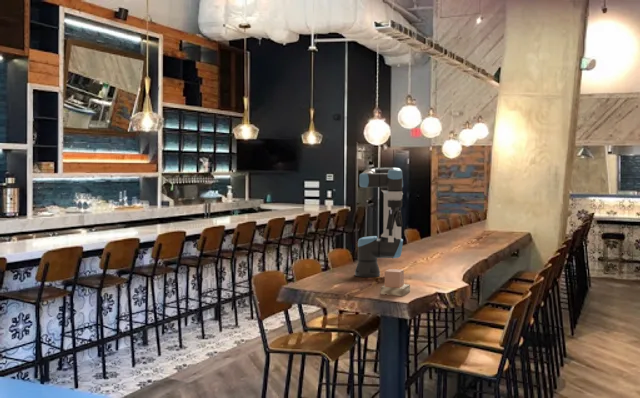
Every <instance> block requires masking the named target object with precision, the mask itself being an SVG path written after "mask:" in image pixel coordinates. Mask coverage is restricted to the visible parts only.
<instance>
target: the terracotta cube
mask: <svg viewBox="0 0 640 398" xmlns="http://www.w3.org/2000/svg"><path fill="white" fill-rule="evenodd" d="M404 284H405V269H396V268H395V269H394V268H388V269H387V270H384V285H385V287H395V288H400V287H402V286H403V285H404Z"/></svg>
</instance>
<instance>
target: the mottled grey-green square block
mask: <svg viewBox="0 0 640 398" xmlns="http://www.w3.org/2000/svg"><path fill="white" fill-rule="evenodd" d="M410 292H411V285H410V284H405V283H404V285H403V286H402V287H400V288H395V287H385V284H384V285H382V286H380V295H385V294H387V296H388V295H389V296H398V297H399V296H400V297H404V296H406V295H407V294H409V293H410Z"/></svg>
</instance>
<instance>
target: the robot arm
mask: <svg viewBox="0 0 640 398" xmlns="http://www.w3.org/2000/svg"><path fill="white" fill-rule="evenodd" d="M358 179H359V183H358V184H359V187H360V188H366V189H367V188H380V191H381V192H382V193H383V232H382V233H381V234H380V238H378V236H377V235H371V236H363V237H360V238H359V239H357V240H358V241H357V264H356V266H355V270H354V276H355V277H360V278H375V277H377V278H378V277H380V276H381V270H380V267H379V264H378V259H398V258H401V256H402V253H403V252H402V251H403V245H404V244H403V243H404V239H403V238H402V227H404V223H403V216H402V208H403V195H404V193H403V188H404V180H403V179H404V177H403V170H402V169H401V168H400V167H371V168H367V169H365V170H364V171H363V172H362V173H359V178H358Z"/></svg>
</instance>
